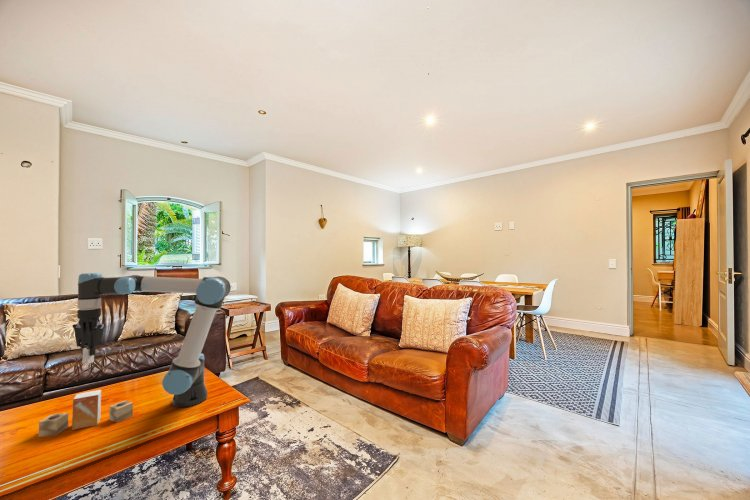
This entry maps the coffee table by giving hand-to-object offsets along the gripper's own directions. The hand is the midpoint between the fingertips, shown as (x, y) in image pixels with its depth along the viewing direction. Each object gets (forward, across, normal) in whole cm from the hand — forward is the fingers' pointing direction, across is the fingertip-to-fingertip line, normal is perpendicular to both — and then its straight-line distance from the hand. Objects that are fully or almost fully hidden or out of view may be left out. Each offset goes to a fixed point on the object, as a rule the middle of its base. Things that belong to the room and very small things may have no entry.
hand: (88, 362), depth 131 cm
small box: (+27, 0, 0) cm, 27 cm away
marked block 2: (+27, -10, -6) cm, 29 cm away
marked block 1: (+27, +8, +6) cm, 28 cm away
